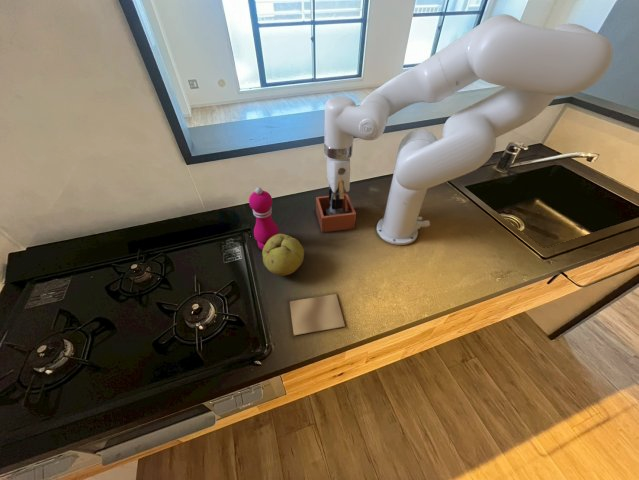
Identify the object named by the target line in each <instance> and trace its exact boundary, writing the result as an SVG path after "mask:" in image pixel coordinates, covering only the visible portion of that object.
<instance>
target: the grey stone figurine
mask: <svg viewBox="0 0 639 480" xmlns="http://www.w3.org/2000/svg"><path fill="white" fill-rule="evenodd" d="M337 194H339V193H338V192H336V195H337ZM332 198H333V192H332V193H331V200H330V204H331V206H330V207H328V208H327V209H326V212H325V214H326V216H330V215H338V214H345V210H344V209H343V208H341V209H332Z"/></svg>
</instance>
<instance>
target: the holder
mask: <svg viewBox="0 0 639 480" xmlns="http://www.w3.org/2000/svg"><path fill="white" fill-rule="evenodd" d="M330 206H331V204H330V201H329V195H323V196H315V213H316V217H317V220H318V224H319V227H320V231H321V233H329V232H336V231H337V232H338V231H344V230H345V231H346V230H352V229H353V230H354V229H355V226H356V219H357V218H356V217H357V212H356V210H355V208H354V206H353V203H352V201H351V199H350V196H349V194H348V193H344V199H343V205H342V208H343V209H344V214H338V215H330V216H327V215H324V213H326V209H327V208H328V207H330Z"/></svg>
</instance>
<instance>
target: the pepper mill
mask: <svg viewBox="0 0 639 480" xmlns="http://www.w3.org/2000/svg"><path fill="white" fill-rule="evenodd" d="M248 205H249V207H250V208H251V210H252V213H253V216H254V217H255V225H254V228H253V237H254V239H255V240H256V242H257V243H256V244H257V247H258V248H259V249H260V250H262V251H263V248H264V246H265V244H266V242H267V241H268V240H269V239H270V238H271V237H272V236H274V235H277V234H280V230H279V227H278V224H277V223H276V222H275V221H274V220H273V217H272V213H273V209H272V206H273V198H272V195H271V194H270V193H269V192H268V191H266V190H263V188H262V187H259V186H258V187H256V188H255V190H254V191H253V192H252V193H251V194H250V196H249V198H248Z"/></svg>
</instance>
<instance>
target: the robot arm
mask: <svg viewBox="0 0 639 480" xmlns="http://www.w3.org/2000/svg"><path fill="white" fill-rule="evenodd" d="M613 54H614V52H613V47H612V44H611V42H610V40H609V39H608V38H607V37H605V36H604V35H602V34H600V33H599V32H595V31H594V30H591V29H589V28H588V27H585V26H583V25H580V24H576V23H565V24H561V25H558V26H556V27H553V28H548V27H542V26H538V25H532V24H529V23H525V22H522V21H521V20H519V19H518V18H517V17H515V16H512V15H510V14H503V13H502V14H497V15H495V16H491V17H489V18H487V19H486V20H484V21H483V22H481V23H479V24H478V25H476V26H475V27H473V28H472V29H470V30H469V31H467V32H466V33H464V34H463V35H461V36H460V37H458V38H457V39H455V40H454V41H452V42H451V43H449V44H448V45H447V46H445V47H443V48H442V49H440V50H438V51H437V52H436V53H434V54H432V55H431V56H429V57H428V58H427V59H425V60H423V61H422V62H420V63H418V64H416V65H414V66H413V67H411V68H409V69H407V70H406V71H403V72H402V73H399V74H398V75H396V76H394V77H392V78H391V79H389V80H388V81H386V82H385V83H384V84H382V85H380V86H379V87H377V88H375V89H374V90H373V91H372V92H370V93H369V94H368V95H367V96H366V97H364V98H363V100H362V102H361V103H360V105H358V106H357V104H356V102H355V100H353V99H352V98H350V97H346V96H335V97H331V98H329V99H328V100H327V101H326V102H325V105H324V132H323V133H324V136H323V138H324V140H323V143H324V144H323V156H324V157H325V158H326V177H327V182H328V183H329V184H328V188H329V189H328V196H329V201H330V200H331V193H332V192H333V198H332V209H341V208H342V205H343V199H344V194H345V193H344V192H346V193H347V192H350V190H351V189H350V188H351V187H350V186H351V160H350V159H351V158H352V156H353V148H354V147H353V146H354V138H357V139H359V140H364V141H373V140H377V139H379V138H380V137H381V136H382V135H383V133H384V132H385V129H386V127H387V122H388V119H389V118H390V117H392V116H393V115H394V114H397V113H398V112H400V111H402V110H403V109H405V108H407V107H409V106H411V105H414V104H418V103H427V104H428V103H429V104H435V103H439V102H441V101H443V100H445V99H447V98H448V97H450V96H452V95H454V94H456V93H457V92H459V91H460V90H462V89H464V88H466V87H468V86H470V85H472V84H473V83H475V82H477V81H479V80H481V81H483V82H485V83H488V84H491V85H495V86H499V87H503V88H501V89H500V90H497V91H496V92H494V93H493V94H491V95H488V96H487V97H484V98H483V99H481V100H478V101H476V102H475V103H473V104H470V105H469V106H467V107H465V108H462V109H460V110H459V111H457V112H455V113H453V114H452V115H450V116H449V117H448V118H447V120H446V121H445V123H444V124H443V128H442V138H440V139H438V138H437V137H436V135H435V134H434V133H433V132H431V131H430V130H428V129H426V128H425V129H424V128H417V129H414V130H411V131H410V132H408V133H406V135H405V136H404V137H403V138H402V139H401V141H400V143H399V145H398V149H397V152H396V153H397V154H396V159H395V164H394V169H393V174H392V178H391V182H390V183H391V184H390V186H389V192H388V196H387V200H386V206H385V210H384V215H383V217H382V218H381V219H379V220H378V222H377V224H376V233H377V235H378V236H379V238H380V239H382V240H383V241H385V242H386V243H388V244H392V245H396V246H405V245H409V244H412V243H414V242H415V241H416V239H417V238H418V234H419V231H418V230H420V229H421V228H427V227H428V228H429V227H430V225H431V222H430V220H429V219H427V220H423V217H422V216H419V215H420V212H421V209H422V206H423V203H424V200H425V197H426V194H427V191H428V189H430V188H433V187H436V186H439V185H442V184H444V183H447V182H449V181H452V180H455V179H457V178H459V177H463V176H465V175H467V174H469V173H472V172H474V171H476V170H478V169H479V168H481V167H482V166H483V165H485V164H486V163H487V162H488V161H489V160H490V159H491V157H492V156H493V154H494V152H495V151H496V147H497V146H496V145H497V138H499V137H502V136H503V135H505V134H507V133H509V132H512V131H513V130H516V129H517V128H520V127H521V126H524V125H526V124H527V123H529V122H531V121H532V120H534V119H535V118H536V117H537V116H539V115H541V113H543V112H544V111H545V110H546V108H547V107H549V105H550V104H551V103H552V102H553V100H554V99H555V98H556V97H557V96H559V97H560V96H561V97H562V96H570V95H571V96H572V95H575V94H578V93H581V92H583V91H585V90H587V89H589V88H590V87H592V86H594V85H595V84H596V83H597V82H599V81H600V80H601V79H602V77H604V75H605V74H606V73H607V71H608V70H609V68H610V65H611V64H612V61H613ZM336 192H338V193H339V194H337V195H336Z"/></svg>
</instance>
